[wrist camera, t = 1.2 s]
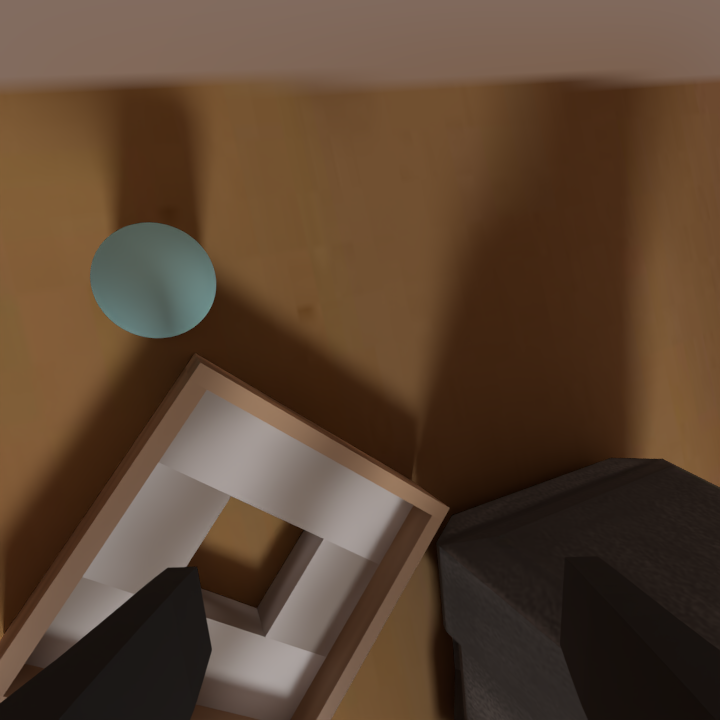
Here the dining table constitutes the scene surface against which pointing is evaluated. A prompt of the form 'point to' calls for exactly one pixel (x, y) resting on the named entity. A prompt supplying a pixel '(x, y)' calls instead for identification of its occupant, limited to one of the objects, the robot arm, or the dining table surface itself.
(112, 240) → the peg
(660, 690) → the robot arm
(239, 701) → the box
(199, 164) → the dining table surface
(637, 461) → the dark faceted flask
